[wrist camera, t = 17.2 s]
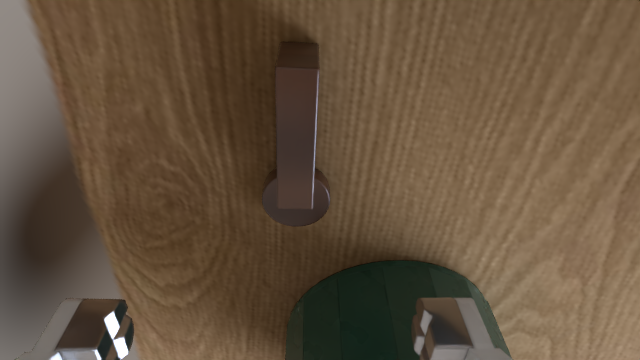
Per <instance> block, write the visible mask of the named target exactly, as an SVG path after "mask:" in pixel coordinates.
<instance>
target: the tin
mask: <svg viewBox="0 0 640 360" xmlns="http://www.w3.org/2000/svg"><path fill="white" fill-rule="evenodd" d="M445 297H452V298H472V299H473V300H474V301H475V304H476V306H477V308H478V311H479V313H480V315H481V318H482V320H483V322H484V325H485V327H486V330H487V332H488V334H489V337H490V339H491V341H492V344H493V346H494V348H500V349H501V350H502V351H503V352H505V353H506V354H507V355H508V356H509V357H510V358H511V355H510V353H509V350H508V348H507V346H506V343H505V341H504V339H503V336H502V334H501V332H500V329H499V327H498V324H497V322H496V320H495V317H494V315H493V313H492V310H491V308H490V306H489V303H488V301H487V300H485V299H484V297H483V295H482V293H481V292H480V291H479V290H478V288H477V287H476V286H475V285H474V284H473V283H471V282H470V281H469V280H468V279H466V278H465V277H463V276H461V275H460V274H458V273H456V272H454V271H452V270H449V269H447V268H444V267H441V266H437V265H434V264H429V263H424V262H418V261H404V260H402V261H382V262H374V263H369V264H364V265H359V266H356V267H352V268H349V269H346V270H343V271H341V272H339V273H336V274H334V275H332V276H330V277H328V278H326V279H324V280H323V281H321V282H319V283H318V284H316V285H315V286H314V287H312V288H311V289H310V290H309V291H308V292H307V293H305V294H304V295H303V296H302V298H301V299H300V300H299V301H298V303H297V304H296V305H295V307H294V309H293V311H292V313H291V315H290V318H289V321H288V324H287V338H286V355H285V360H419V357H420V356H419V355H418V354H417V353H416V352H415V351H414V349H413V344H412V338H411V322H412V317H413V316H414V315H416V314H417V312H416V308H415V305H416V301H417V299H418V298H445Z"/></svg>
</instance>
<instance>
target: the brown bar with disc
mask: <svg viewBox="0 0 640 360" xmlns="http://www.w3.org/2000/svg"><path fill="white" fill-rule="evenodd" d="M319 73H320V67H319V45H318V44H317V43H295V42H281V43H280V46H279V51H278V56H277V61H276V66H275V100H276V167H277V168H276V169H274V170H273V171H272V172H271V173H270V174H269V175H268V176H267V178H266V180H265V183H264V188H263V194H262V203H263V207H264V209H265V211H266V212H267V214H268V215H269V216H270V217H271V218H272V219H274V220H275V221H277V222H279V223H281V224H284V225H287V226H295V227H296V226H306V225H309V224H312V223H314V222H316V221H318V220H319V219H320V218H322V217H323V216H324V214H325V213H326V212H327V210H328V208H329V205H330V190H329V184H328V181H327V179H326V177H325V176H324V175H323V174H322V173H321V172H320V171H319V170H318V169H316V168H315V156H316V136H317V115H318V94H319Z"/></svg>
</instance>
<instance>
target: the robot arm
mask: <svg viewBox="0 0 640 360" xmlns="http://www.w3.org/2000/svg"><path fill="white" fill-rule="evenodd" d="M415 308H416V312H417V314H416V315H414V316H413V317H412V322H411V338H412V344H413V349H414V351H415V352H416V353H417V354H418V355H419V356H420V357H419V360H513V359H512V358H510V357H509V356H508V355H507V354H506V353H505V352H503V351H502V350H501V349H500V348H494V346H493V344H492V341H491V339H490V337H489V334H488V332H487V330H486V327H485V325H484V322H483V320H482V318H481V315H480V313H479V311H478V308H477V306H476V304H475V301H474V300H473V299H472V298H452V297H445V298H418V299H417V301H416V305H415ZM127 309H128V306H127V304H126V301H125V300H122V299H65V300H64V301H63V302H61V303H60V305H59V307H58V308H57V310H56V311H55V313H54V315H53V317H52V318H51V320H50V321H49V323H48V325H47V326H46V328H45V330H44V331H43V333H42V335H41V336H40V338H39V340H38V341H37V343H36V344H35V346H34V348H33V349H32V351H31V352H25V353H24V354H22V355H21V356H19V357H18V358H17V359H15V360H121V359H122V358H123V357H124V356H126V355H127V354H128V353H129V350H130V348H131V345H132V342H133V336H134V324H133V321H132V318H131V317H129V316H128V315H126V311H127Z"/></svg>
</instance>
